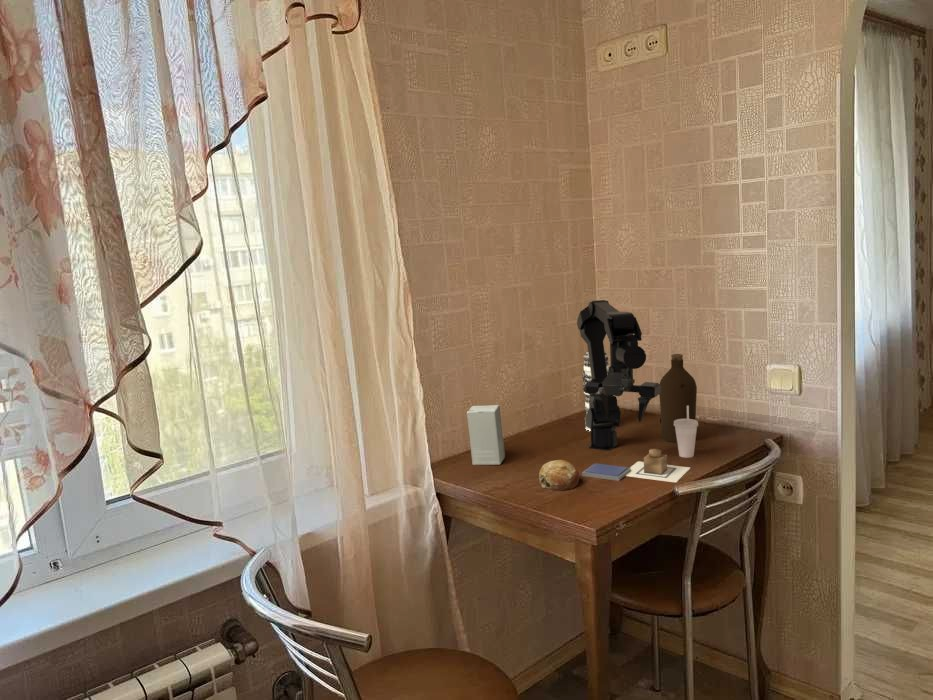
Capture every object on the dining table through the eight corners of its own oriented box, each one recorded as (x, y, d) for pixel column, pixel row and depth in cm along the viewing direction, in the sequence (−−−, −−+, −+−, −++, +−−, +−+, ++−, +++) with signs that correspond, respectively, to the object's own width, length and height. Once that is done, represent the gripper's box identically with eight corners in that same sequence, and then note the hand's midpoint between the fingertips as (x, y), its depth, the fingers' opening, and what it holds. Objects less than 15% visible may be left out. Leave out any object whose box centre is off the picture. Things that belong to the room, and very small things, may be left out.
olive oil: (705, 438, 210) (704, 354, 206) (679, 445, 205) (677, 359, 201) (678, 431, 219) (676, 350, 215) (652, 438, 214) (650, 355, 210)
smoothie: (700, 459, 191) (699, 408, 189) (675, 459, 193) (674, 408, 191) (697, 452, 198) (696, 402, 196) (673, 452, 199) (672, 403, 197)
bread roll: (536, 497, 182) (526, 473, 178) (558, 470, 188) (549, 447, 184) (568, 505, 175) (558, 481, 171) (589, 477, 181) (580, 453, 177)
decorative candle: (616, 425, 230) (613, 348, 227) (609, 433, 222) (606, 353, 218) (588, 424, 234) (585, 348, 230) (580, 431, 226) (577, 353, 222)
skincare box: (505, 458, 203) (502, 404, 201) (499, 466, 196) (496, 410, 194) (476, 458, 206) (472, 404, 203) (469, 465, 199) (466, 410, 196)
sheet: (621, 476, 183) (621, 474, 182) (637, 462, 192) (637, 460, 192) (676, 483, 175) (676, 481, 175) (690, 468, 185) (690, 467, 185)
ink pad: (582, 476, 184) (581, 471, 184) (594, 467, 191) (594, 462, 191) (619, 481, 179) (619, 476, 179) (630, 471, 185) (630, 466, 185)
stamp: (644, 472, 183) (643, 452, 182) (650, 467, 187) (649, 447, 186) (661, 475, 180) (660, 453, 180) (667, 469, 184) (666, 449, 183)
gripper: (575, 365, 184) (577, 424, 187) (647, 369, 174) (648, 431, 177) (592, 357, 193) (593, 414, 196) (660, 361, 183) (661, 420, 186)
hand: (622, 420), depth 188 cm, fingers open, 9 cm apart
